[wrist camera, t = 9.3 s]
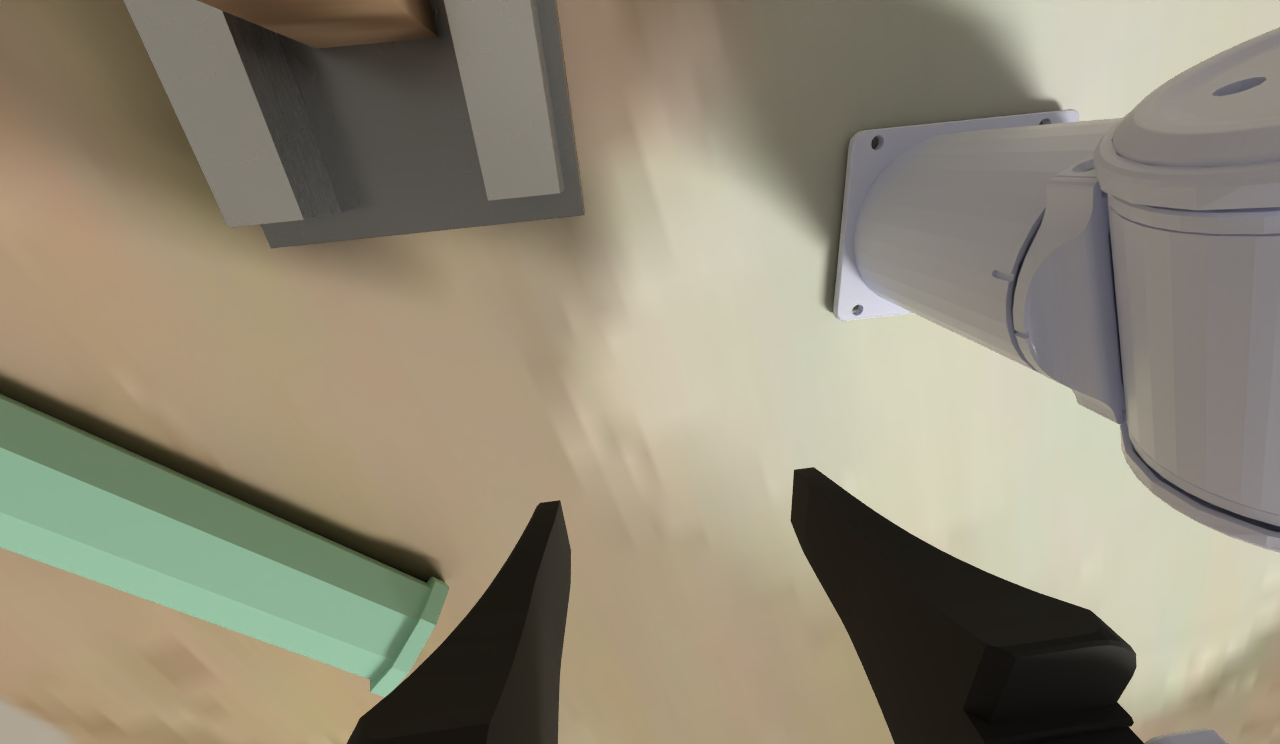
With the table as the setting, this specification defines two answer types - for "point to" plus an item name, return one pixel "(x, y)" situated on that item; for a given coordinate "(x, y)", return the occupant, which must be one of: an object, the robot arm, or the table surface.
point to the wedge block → (337, 19)
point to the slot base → (373, 120)
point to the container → (204, 551)
